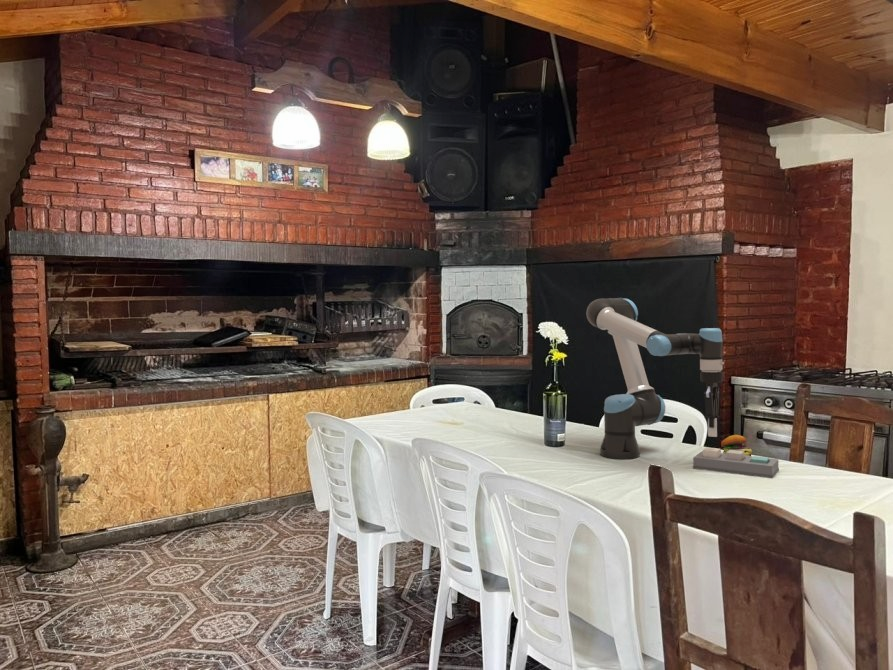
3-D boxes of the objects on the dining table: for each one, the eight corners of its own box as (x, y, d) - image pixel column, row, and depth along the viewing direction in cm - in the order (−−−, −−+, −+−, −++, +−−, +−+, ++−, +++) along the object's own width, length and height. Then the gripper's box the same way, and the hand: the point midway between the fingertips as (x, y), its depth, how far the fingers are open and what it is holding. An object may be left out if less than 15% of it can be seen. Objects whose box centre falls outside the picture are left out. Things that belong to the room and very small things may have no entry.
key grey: (726, 462, 234) (726, 452, 234) (729, 459, 238) (729, 449, 238) (741, 463, 231) (741, 454, 231) (744, 461, 235) (744, 451, 235)
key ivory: (702, 459, 238) (702, 449, 238) (706, 456, 242) (706, 447, 242) (717, 461, 235) (717, 451, 235) (720, 458, 240) (720, 448, 239)
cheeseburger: (736, 462, 244) (731, 435, 246) (717, 463, 254) (712, 437, 256) (758, 459, 247) (753, 433, 249) (739, 460, 257) (734, 434, 259)
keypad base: (692, 468, 237) (692, 457, 237) (701, 461, 247) (701, 451, 247) (772, 478, 222) (772, 466, 222) (778, 470, 232) (778, 459, 232)
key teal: (750, 468, 229) (750, 458, 229) (753, 465, 233) (753, 456, 233) (766, 470, 226) (766, 460, 226) (769, 467, 230) (769, 457, 230)
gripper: (717, 372, 230) (719, 440, 231) (726, 369, 241) (727, 434, 241) (695, 372, 234) (696, 438, 235) (705, 369, 245) (706, 432, 246)
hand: (712, 436), depth 238 cm, fingers closed
